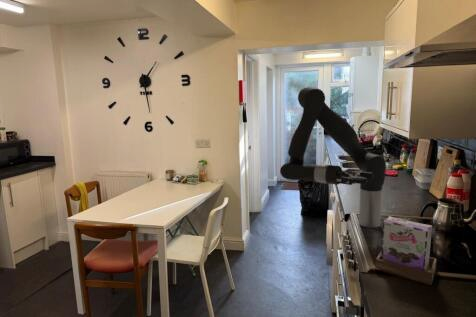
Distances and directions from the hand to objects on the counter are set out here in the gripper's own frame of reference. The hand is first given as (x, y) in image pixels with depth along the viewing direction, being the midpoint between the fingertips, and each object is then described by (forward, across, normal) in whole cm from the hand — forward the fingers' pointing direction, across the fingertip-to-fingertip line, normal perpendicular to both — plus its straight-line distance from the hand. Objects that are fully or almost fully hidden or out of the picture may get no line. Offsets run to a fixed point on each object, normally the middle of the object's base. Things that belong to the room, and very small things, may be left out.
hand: (369, 178), depth 121 cm
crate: (+14, -8, +29) cm, 33 cm away
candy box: (+14, -9, +28) cm, 33 cm away
